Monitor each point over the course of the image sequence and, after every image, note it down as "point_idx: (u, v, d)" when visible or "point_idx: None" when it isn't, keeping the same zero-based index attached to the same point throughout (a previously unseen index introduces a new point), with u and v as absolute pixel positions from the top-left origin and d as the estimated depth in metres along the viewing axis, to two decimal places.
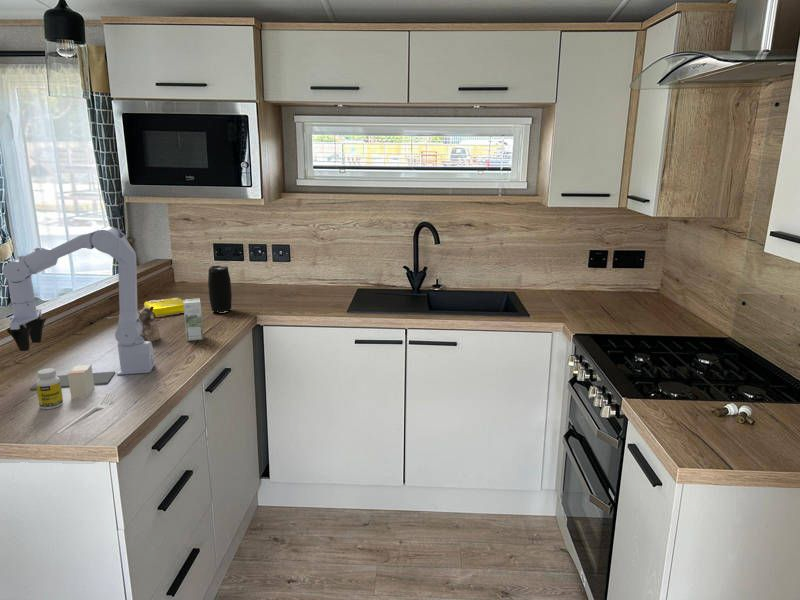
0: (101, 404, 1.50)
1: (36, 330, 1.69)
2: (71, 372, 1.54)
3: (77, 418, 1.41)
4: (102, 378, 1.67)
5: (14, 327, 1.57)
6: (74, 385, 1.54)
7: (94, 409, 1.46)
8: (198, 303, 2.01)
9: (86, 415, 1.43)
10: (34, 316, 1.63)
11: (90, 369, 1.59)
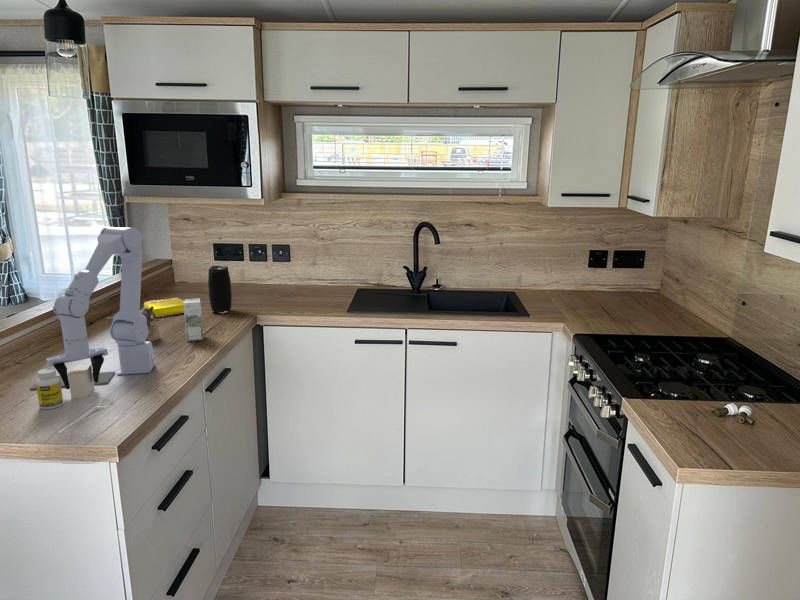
0: (101, 404, 1.50)
1: (94, 369, 1.58)
2: (71, 372, 1.54)
3: (78, 418, 1.41)
4: (102, 378, 1.67)
5: None
6: (74, 385, 1.54)
7: (94, 409, 1.46)
8: (198, 303, 2.01)
9: (86, 415, 1.43)
10: (75, 356, 1.52)
11: (90, 369, 1.59)
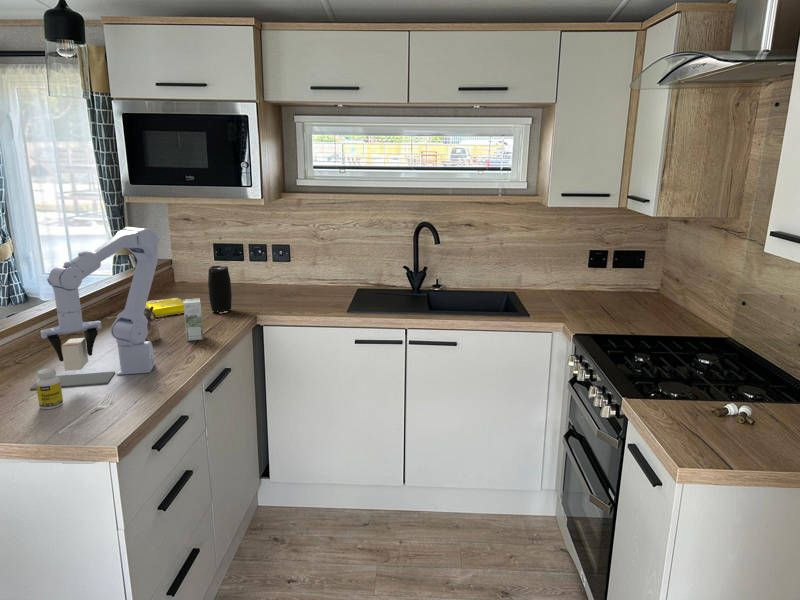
0: (102, 404, 1.50)
1: (88, 342, 1.59)
2: (65, 344, 1.55)
3: (78, 418, 1.41)
4: (102, 378, 1.67)
5: None
6: (68, 357, 1.55)
7: (95, 409, 1.46)
8: (198, 303, 2.01)
9: (87, 415, 1.43)
10: (69, 328, 1.54)
11: (84, 342, 1.60)
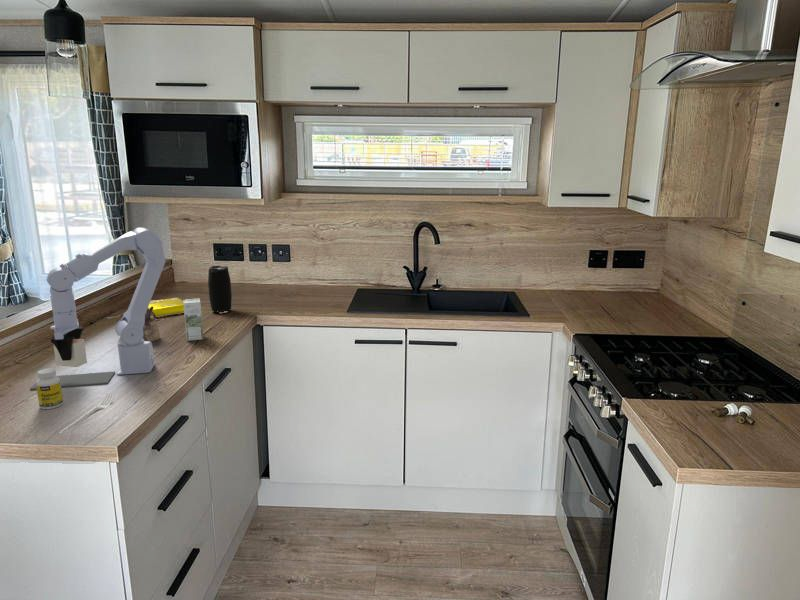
0: (102, 404, 1.50)
1: None
2: None
3: (78, 418, 1.41)
4: (102, 378, 1.67)
5: (59, 337, 1.56)
6: (78, 353, 1.62)
7: (95, 409, 1.46)
8: (198, 303, 2.01)
9: (87, 415, 1.43)
10: (75, 325, 1.62)
11: None
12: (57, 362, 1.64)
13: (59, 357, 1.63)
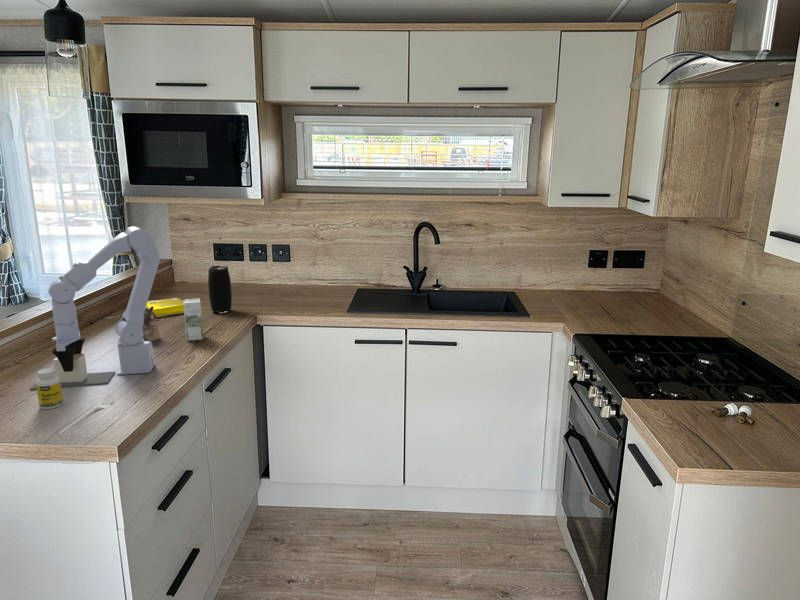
0: (102, 404, 1.50)
1: (76, 351, 1.68)
2: (76, 357, 1.63)
3: (79, 418, 1.41)
4: (102, 378, 1.67)
5: (60, 349, 1.57)
6: (82, 367, 1.65)
7: (95, 409, 1.46)
8: (198, 303, 2.01)
9: (87, 415, 1.43)
10: (77, 337, 1.63)
11: None
12: None
13: (60, 374, 1.63)
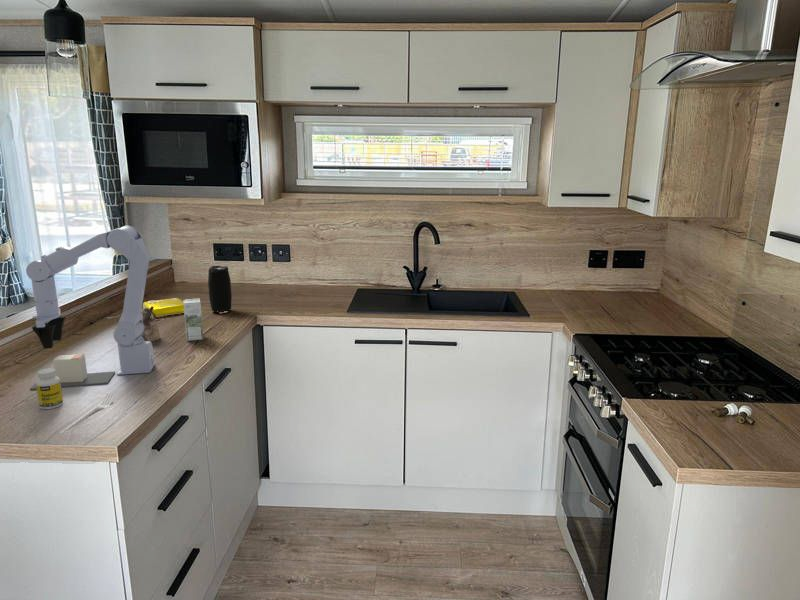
0: (102, 404, 1.50)
1: (57, 328, 1.73)
2: (76, 357, 1.63)
3: (79, 418, 1.41)
4: (102, 378, 1.67)
5: (40, 325, 1.61)
6: (82, 367, 1.65)
7: (95, 409, 1.46)
8: (198, 303, 2.01)
9: (88, 415, 1.43)
10: (57, 314, 1.67)
11: None
12: None
13: (60, 374, 1.63)
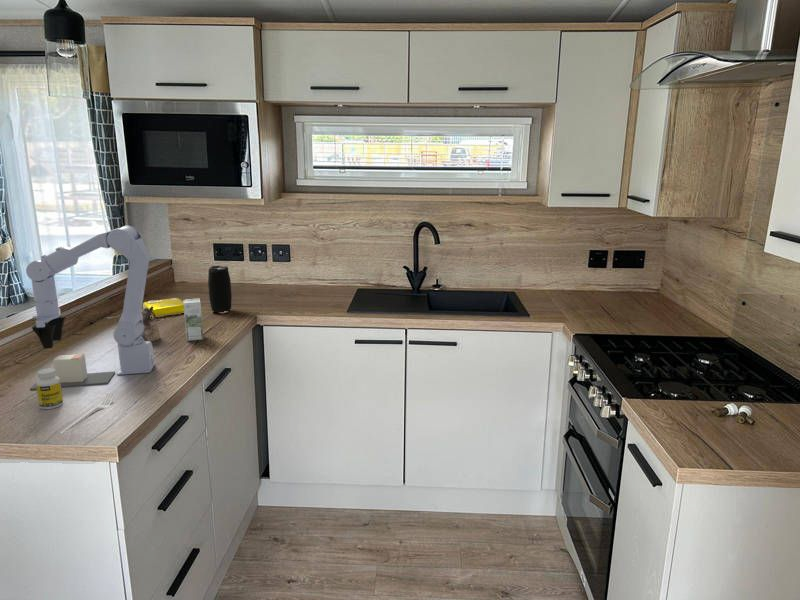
0: (102, 404, 1.50)
1: (57, 328, 1.73)
2: (76, 357, 1.63)
3: (79, 418, 1.41)
4: (102, 378, 1.67)
5: (40, 325, 1.61)
6: (82, 367, 1.65)
7: (95, 409, 1.46)
8: (198, 303, 2.01)
9: (88, 415, 1.43)
10: (57, 314, 1.67)
11: None
12: None
13: (60, 374, 1.63)
